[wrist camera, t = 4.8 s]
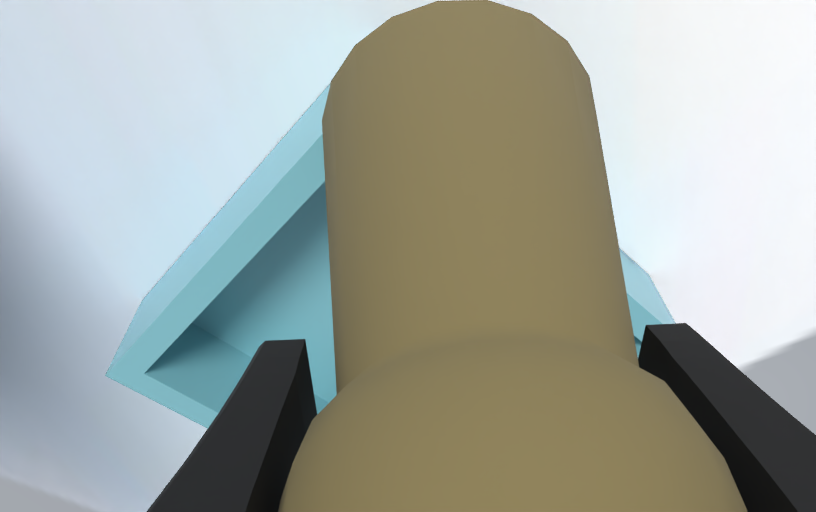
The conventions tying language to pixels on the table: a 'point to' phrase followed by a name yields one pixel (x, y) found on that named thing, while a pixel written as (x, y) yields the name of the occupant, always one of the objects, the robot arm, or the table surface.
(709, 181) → the table surface
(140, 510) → the table surface
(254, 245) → the teal bin
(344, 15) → the table surface
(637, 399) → the cork
